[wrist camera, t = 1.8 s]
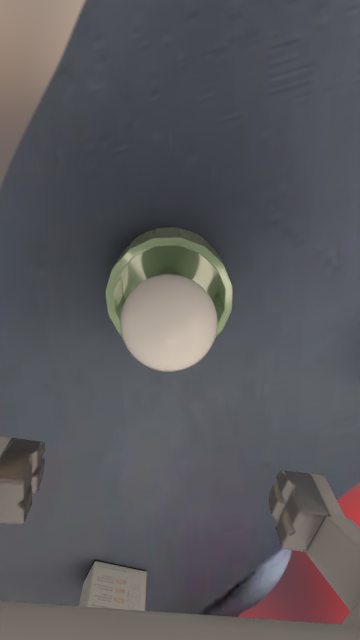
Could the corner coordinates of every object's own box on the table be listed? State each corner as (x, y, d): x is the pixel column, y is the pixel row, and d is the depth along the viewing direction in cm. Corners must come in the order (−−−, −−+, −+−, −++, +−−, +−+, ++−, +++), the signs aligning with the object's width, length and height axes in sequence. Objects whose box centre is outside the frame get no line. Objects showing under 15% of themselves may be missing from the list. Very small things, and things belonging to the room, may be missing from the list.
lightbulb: (131, 313, 30) (110, 387, 20) (136, 243, 27) (114, 288, 17) (200, 320, 30) (214, 395, 20) (211, 252, 28) (233, 301, 18)
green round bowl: (134, 209, 26) (127, 217, 22) (242, 251, 28) (254, 265, 24) (102, 311, 30) (92, 334, 26) (199, 343, 32) (203, 369, 28)
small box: (83, 580, 48) (61, 681, 39) (94, 559, 46) (74, 661, 37) (134, 590, 50) (126, 691, 40) (148, 570, 48) (142, 672, 38)
